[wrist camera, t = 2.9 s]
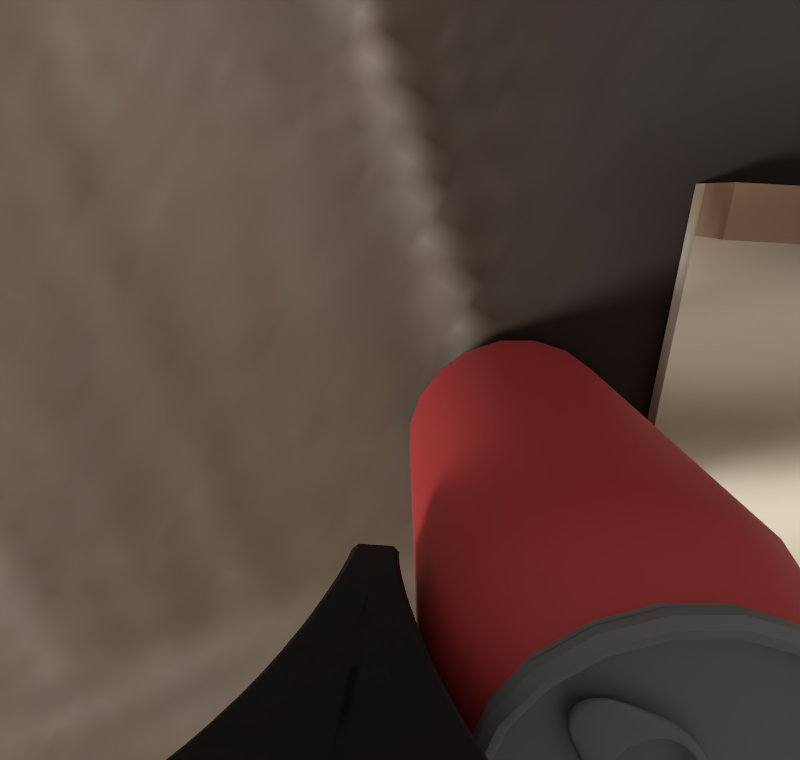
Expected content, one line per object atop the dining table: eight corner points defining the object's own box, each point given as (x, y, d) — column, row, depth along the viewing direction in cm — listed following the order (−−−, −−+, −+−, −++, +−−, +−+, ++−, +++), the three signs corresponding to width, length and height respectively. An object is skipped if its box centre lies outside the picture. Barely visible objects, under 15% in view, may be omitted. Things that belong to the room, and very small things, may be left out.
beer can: (516, 290, 17) (744, 471, 6) (648, 430, 19) (1038, 796, 7) (367, 431, 19) (317, 798, 7) (500, 551, 20) (633, 1016, 9)
